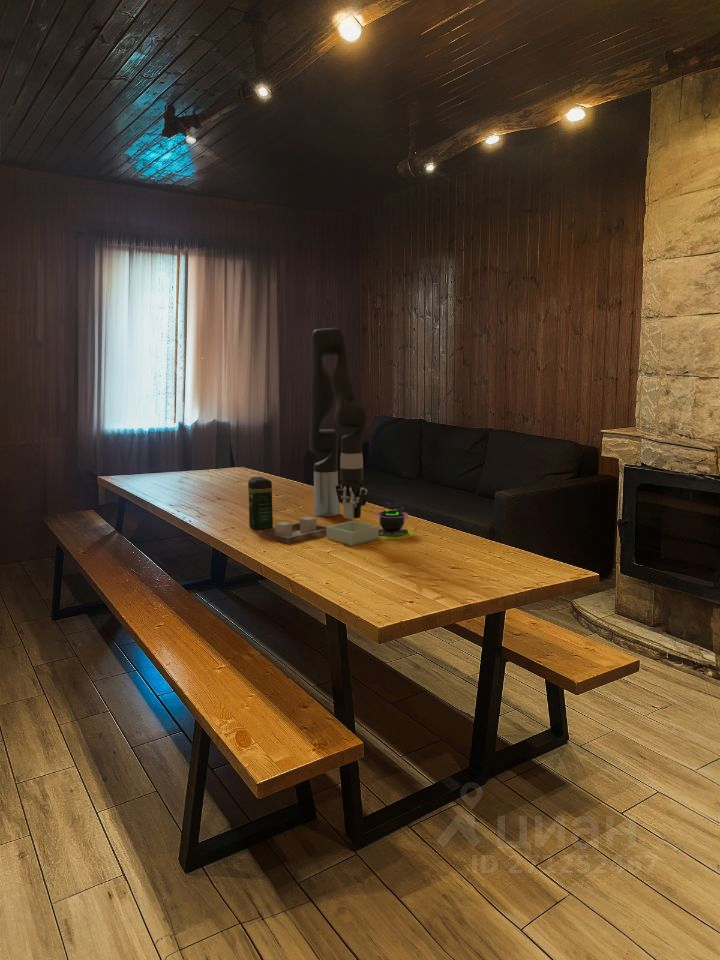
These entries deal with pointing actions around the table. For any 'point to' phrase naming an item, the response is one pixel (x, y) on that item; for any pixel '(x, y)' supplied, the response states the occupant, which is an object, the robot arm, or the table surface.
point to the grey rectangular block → (307, 524)
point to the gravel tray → (294, 534)
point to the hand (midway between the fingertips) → (352, 516)
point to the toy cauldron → (393, 525)
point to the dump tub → (353, 533)
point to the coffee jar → (260, 503)
